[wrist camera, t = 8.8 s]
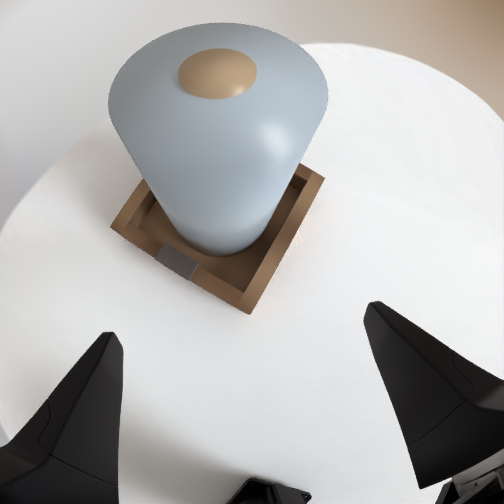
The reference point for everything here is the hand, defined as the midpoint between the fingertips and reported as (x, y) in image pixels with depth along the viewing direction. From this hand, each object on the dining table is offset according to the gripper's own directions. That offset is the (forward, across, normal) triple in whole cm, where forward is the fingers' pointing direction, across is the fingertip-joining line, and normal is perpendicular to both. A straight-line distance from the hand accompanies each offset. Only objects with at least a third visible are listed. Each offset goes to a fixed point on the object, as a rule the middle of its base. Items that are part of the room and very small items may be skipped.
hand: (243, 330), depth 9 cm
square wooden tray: (+13, +1, +2) cm, 13 cm away
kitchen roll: (+12, 0, +1) cm, 13 cm away
